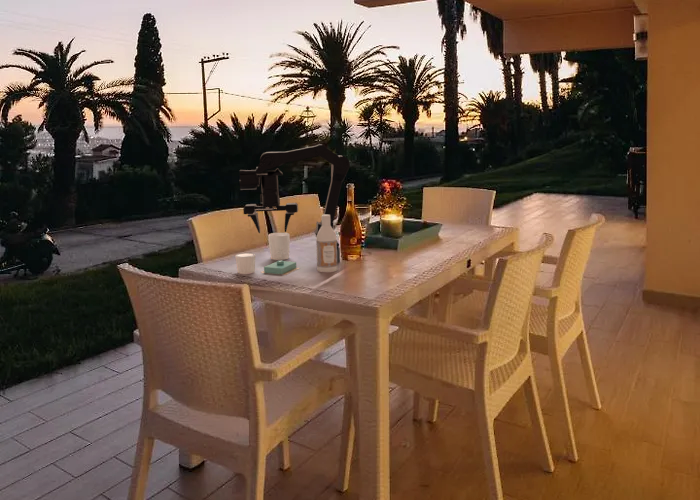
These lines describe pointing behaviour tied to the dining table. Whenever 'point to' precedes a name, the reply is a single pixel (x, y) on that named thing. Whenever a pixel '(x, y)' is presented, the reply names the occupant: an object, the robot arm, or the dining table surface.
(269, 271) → the lid
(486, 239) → the dining table surface
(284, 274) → the mat
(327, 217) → the bath foam
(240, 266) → the cream round container
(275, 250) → the white cup
